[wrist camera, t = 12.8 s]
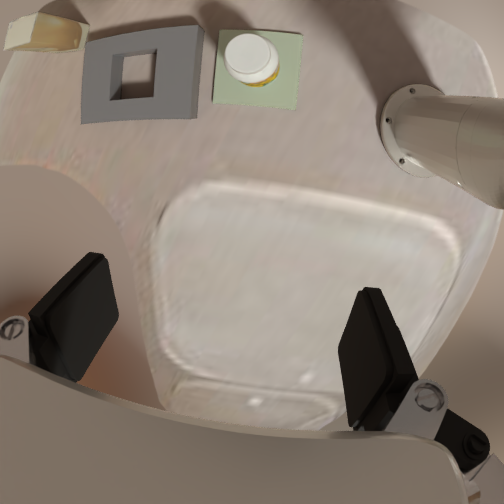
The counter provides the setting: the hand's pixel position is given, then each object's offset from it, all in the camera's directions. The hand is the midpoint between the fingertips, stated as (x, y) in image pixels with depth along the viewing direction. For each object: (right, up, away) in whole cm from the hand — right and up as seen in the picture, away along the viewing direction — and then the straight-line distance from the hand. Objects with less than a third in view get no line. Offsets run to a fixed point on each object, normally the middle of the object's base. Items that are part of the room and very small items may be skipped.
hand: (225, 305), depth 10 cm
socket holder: (-13, +25, +21) cm, 35 cm away
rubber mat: (+2, +24, +19) cm, 31 cm away
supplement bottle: (+2, +24, +19) cm, 30 cm away
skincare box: (-26, +34, +17) cm, 46 cm away
